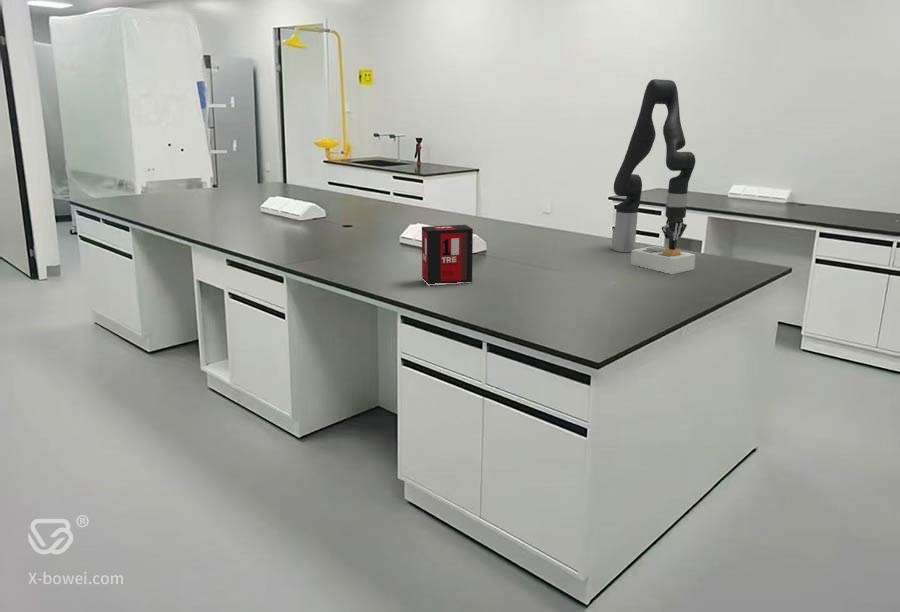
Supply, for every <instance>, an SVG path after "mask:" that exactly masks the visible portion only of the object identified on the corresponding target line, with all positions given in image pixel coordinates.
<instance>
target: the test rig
mask: <svg viewBox="0 0 900 612" xmlns="http://www.w3.org/2000/svg"><path fill="white" fill-rule="evenodd" d="M649 247H659V248H663V247H661V246H656V245H653V246H647V247H641V248H636V249H634V250H632V252H630V263H629V264H630V265H631V266H635V267H639V266H640V268H643V267H644V268H643V269H647V268H648V270H651V269H652V271H655V270H656V272H659V271H661V272H660V273H663V272H664V273H665V274H668V273H669V275H675V274H680V273H684V272H688V271H689V272H690V271H694V270H695V263H696V254H695V253H691V252H685V251H681V254H680V255H678V256H669V255H664V254H663V252H657V253H655V252H651V251H646V248H649Z"/></svg>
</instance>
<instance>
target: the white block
mask: <svg viewBox="0 0 900 612" xmlns="http://www.w3.org/2000/svg"><path fill="white" fill-rule="evenodd" d="M648 247H649V248H646V247H645V248H646V251H651V252H655V253H657V252H663V249H664V248H665V247H662V248H659V247H660V246H657V247H651V246H648Z"/></svg>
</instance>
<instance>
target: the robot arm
mask: <svg viewBox="0 0 900 612" xmlns="http://www.w3.org/2000/svg"><path fill="white" fill-rule="evenodd" d="M679 101H680V100H679V92H678V86H677V84H676V82H675V81H673V80H670V79H658V78H655V79H654V78H653V79H651V80H649V81H648V83H647V85H646V87H645V90H644V92H643V98H642V103H641V106H640V111H639V114H638V118H637V121H636V124H635V126H634V128H633V131H632V134H631V137H630V141H629V143H628V147H627V150H626V152H625V155H624V158H623V160H622V163H621V165H620V168H619V170H618V172H617V174H616V175H615V178H614V179H615V180H614V182H613V192H614V194H615V196H618V197H625V198H624V200H623V201H622V202H620V203H618V204H616V207H615V221H614V227H613V228H612V234H611V235H612V237H611V250H613V251H615V252H621V253H631V252H632V250H634V249H635V248H636V235H637V224H638V212H639V211H638V210H639V207H640V203H641V198H642V191H643V181H642V178H641V176H640V175H639V174H635V173H634V171H635V169H636V168H637V166H639V164H640V163H642V161H644V160H645V158H646V157H647V156H648V155H649V153H651V151H652V149H653V145H654V142H655V140H656V128H655V125H654V122H653V121H654V120H653V112H654V108H655V106H656V104H657V105H665V106H666V108H667V116H666V118H665V120H664V121H665V122H664V124H663V127H662V128H663V129H662V133H663V134H662V135H663V138H664V141H665V147H666V148H665V149H666V150H665V151H666V153H665V166H666V167H667V168H668V170H669V171H672V172H677V171H678V172H680V173H678V175H677V176H673V177H671V178H670V179H669V182H668V189H667V190H668V191H667V196H666V201H665V202H666V204H665V214H664V215H665V217H666V222H665V225H664V226H662V227H661V230H662V233H663V235H664V238H665V239H668V248H669V249H676V248H677V241H678V239H679V238H681V237H682V235H683V234H684V232H685V230H686V228H687V227H688V224H686V223H684V219H685V218H686V215H687V207H688V206H687V204H688V189H689V183H690V179H691V178H692V177H691V176H692V173H693V171H694V169H695V166H696V156H695V154H694V153H693V152H692V151H680V150H682V149H683V148H684V147H685V146H686V138H685V135H684V132H683V131H684V130H683V127H682V124H681V116H680V114H681V113H680V102H679ZM633 173H634V174H633Z"/></svg>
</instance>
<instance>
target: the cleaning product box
mask: <svg viewBox="0 0 900 612" xmlns="http://www.w3.org/2000/svg"><path fill="white" fill-rule="evenodd" d="M473 237H474V229H473V228H472V227H470V226H469V225H467V224H456V225H454V224H451V225H434V226H433V225H432V226H431V225H429V226H428V225H427V226H421V274H422V275H421V277H422V278H423V279H424V280H425V281H426V282H427V283H428V284H435V283H457V282H472V283H473V252H474V251H473V247H474V245H473V244H474V242H473ZM422 278H421V279H422Z"/></svg>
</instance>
